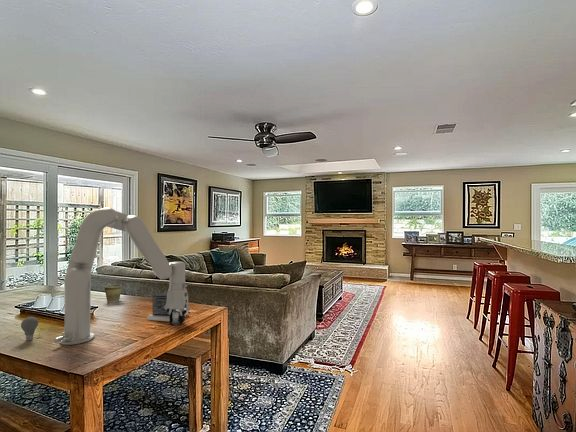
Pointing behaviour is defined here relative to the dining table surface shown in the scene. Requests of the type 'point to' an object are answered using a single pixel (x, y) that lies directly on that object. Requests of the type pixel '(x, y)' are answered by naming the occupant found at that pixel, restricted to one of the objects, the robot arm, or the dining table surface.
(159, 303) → the small box
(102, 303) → the dining table surface
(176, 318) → the round metal knob
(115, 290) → the olive flower pot
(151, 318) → the scale
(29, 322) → the light bulb
